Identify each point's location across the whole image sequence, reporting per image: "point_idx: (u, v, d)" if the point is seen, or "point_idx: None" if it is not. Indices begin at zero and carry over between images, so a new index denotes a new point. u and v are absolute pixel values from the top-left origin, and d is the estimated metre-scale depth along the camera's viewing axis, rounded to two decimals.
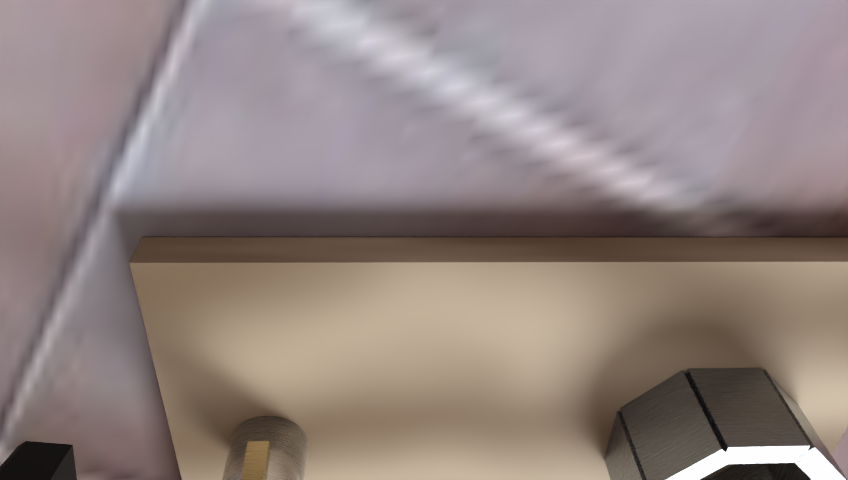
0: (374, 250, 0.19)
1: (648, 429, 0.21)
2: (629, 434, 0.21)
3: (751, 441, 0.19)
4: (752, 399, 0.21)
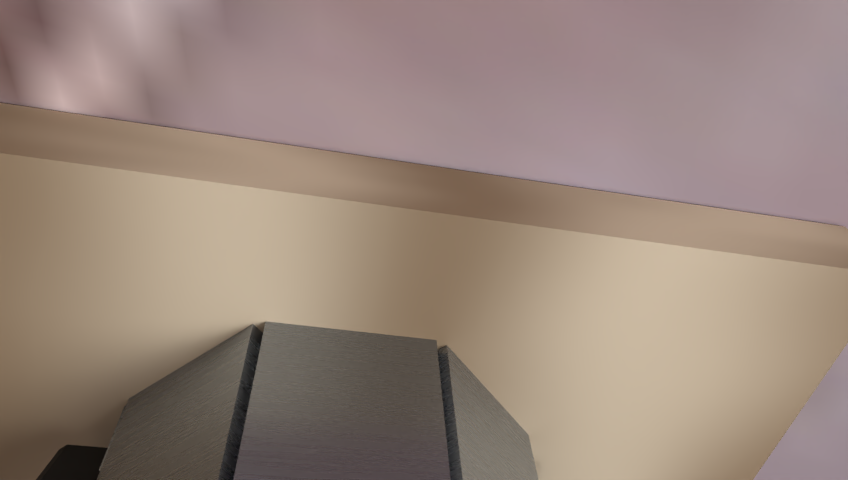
0: None
1: None
2: None
3: None
4: None
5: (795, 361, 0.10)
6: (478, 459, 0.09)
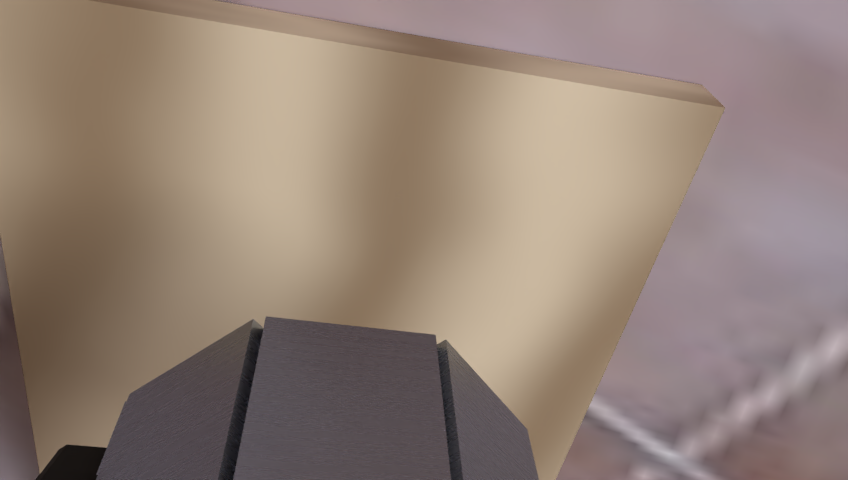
0: None
1: None
2: None
3: None
4: None
5: (665, 176, 0.15)
6: (478, 452, 0.09)
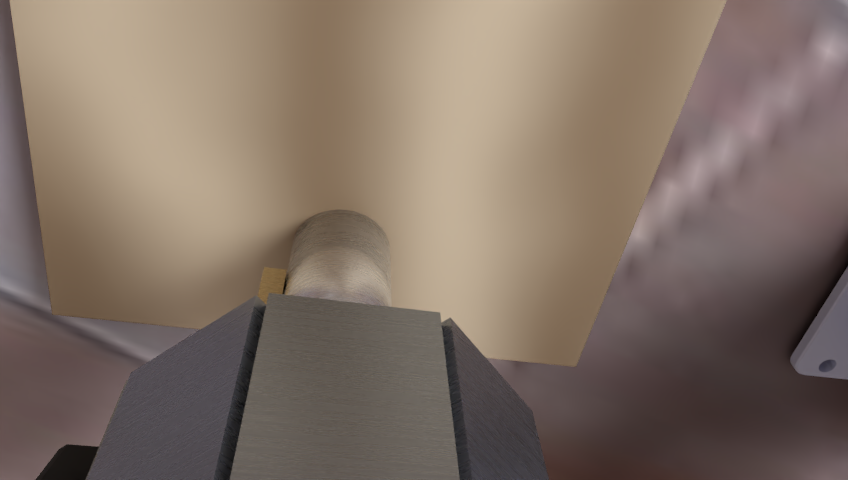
0: None
1: None
2: None
3: None
4: None
5: None
6: (483, 428, 0.09)
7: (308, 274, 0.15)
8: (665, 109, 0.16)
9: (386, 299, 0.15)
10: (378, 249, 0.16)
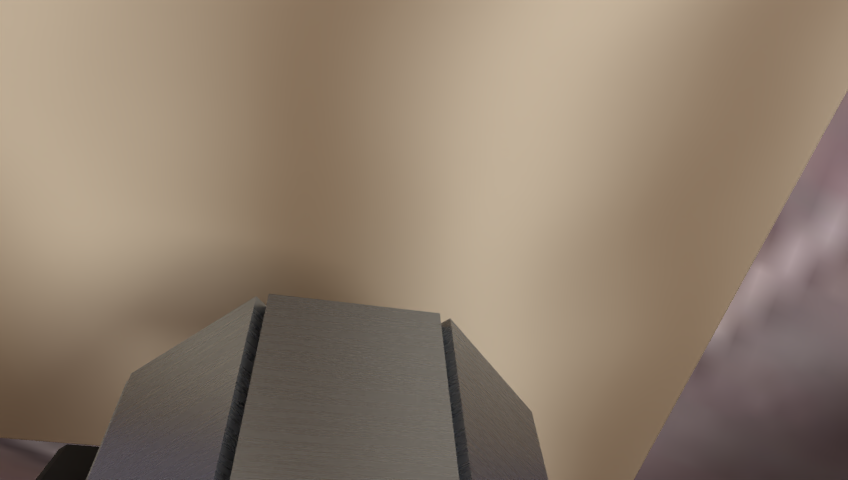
0: None
1: None
2: None
3: None
4: None
5: None
6: (482, 429, 0.09)
7: None
8: (773, 185, 0.12)
9: None
10: None
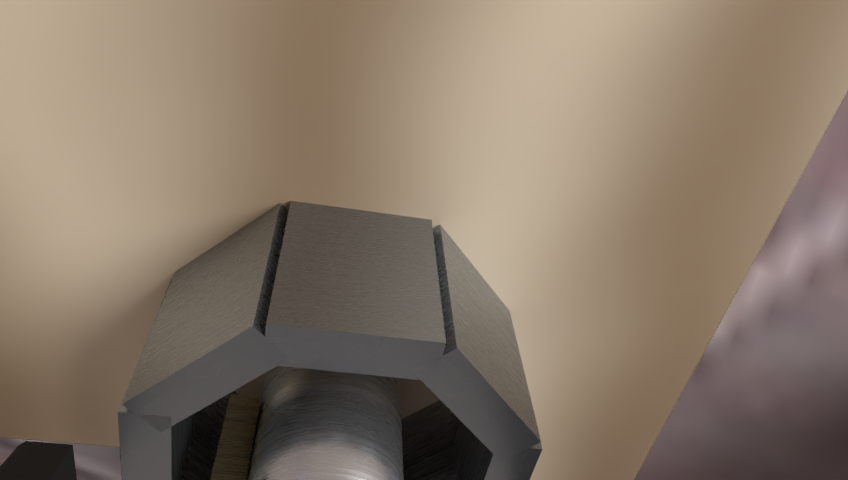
0: None
1: None
2: None
3: None
4: None
5: None
6: (465, 304, 0.11)
7: (288, 416, 0.11)
8: (773, 185, 0.12)
9: (396, 448, 0.11)
10: None
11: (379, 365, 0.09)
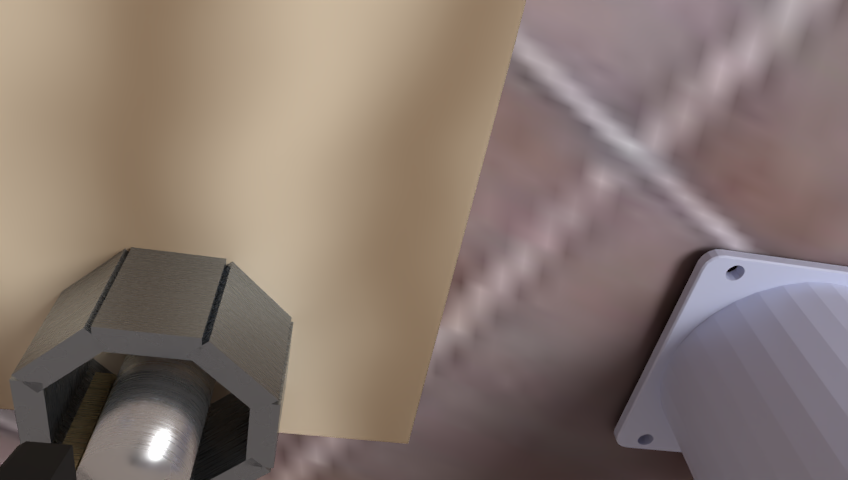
0: None
1: None
2: None
3: None
4: None
5: None
6: (234, 314, 0.17)
7: (124, 384, 0.17)
8: (448, 236, 0.18)
9: (195, 405, 0.17)
10: None
11: (163, 352, 0.16)
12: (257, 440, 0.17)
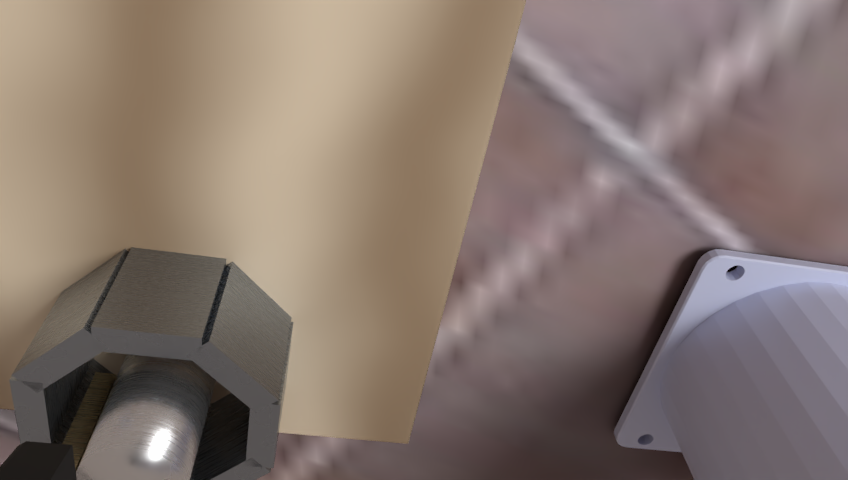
0: None
1: None
2: None
3: None
4: None
5: None
6: (234, 314, 0.17)
7: (124, 384, 0.17)
8: (448, 236, 0.18)
9: (195, 405, 0.17)
10: None
11: (163, 352, 0.16)
12: (257, 440, 0.17)
